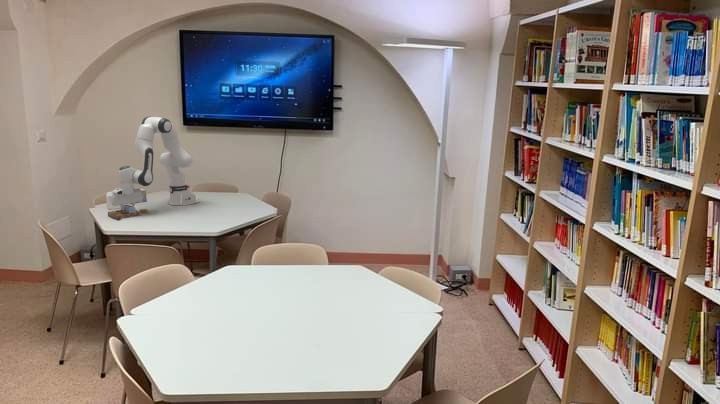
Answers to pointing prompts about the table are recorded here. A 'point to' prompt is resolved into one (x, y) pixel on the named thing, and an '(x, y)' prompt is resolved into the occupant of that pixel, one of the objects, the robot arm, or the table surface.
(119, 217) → the board
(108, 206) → the cable organizer
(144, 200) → the stack of blocks
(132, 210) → the strip
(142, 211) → the block
